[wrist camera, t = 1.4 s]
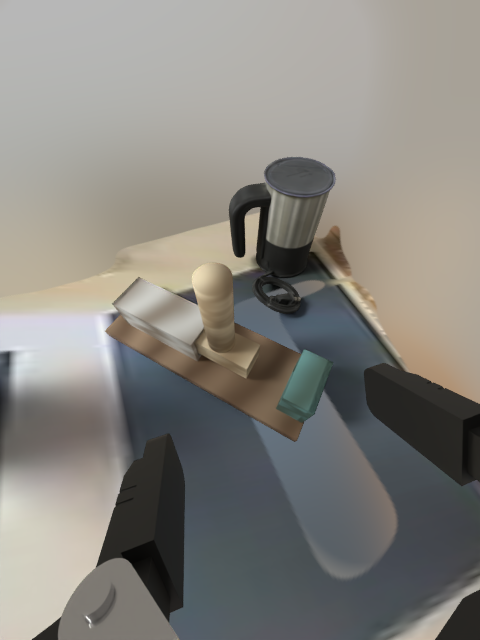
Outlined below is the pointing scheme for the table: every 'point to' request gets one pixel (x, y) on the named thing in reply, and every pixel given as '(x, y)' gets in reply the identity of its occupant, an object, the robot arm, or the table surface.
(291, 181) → the milk frother
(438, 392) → the robot arm
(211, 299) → the cream l-shaped piece
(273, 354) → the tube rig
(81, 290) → the table surface
